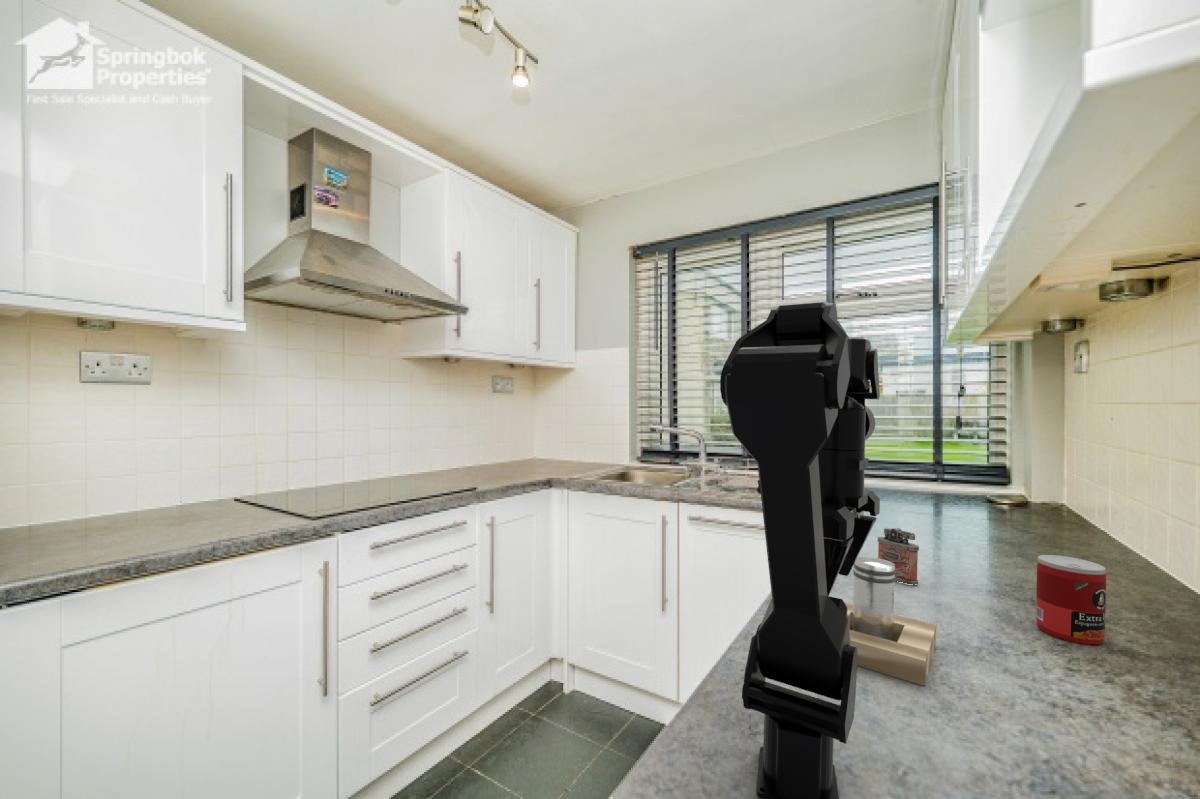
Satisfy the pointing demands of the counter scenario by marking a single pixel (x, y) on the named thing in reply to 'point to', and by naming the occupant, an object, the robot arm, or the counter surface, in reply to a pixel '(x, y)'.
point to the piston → (874, 597)
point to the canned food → (1071, 599)
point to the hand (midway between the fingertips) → (833, 584)
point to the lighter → (900, 553)
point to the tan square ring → (897, 648)
